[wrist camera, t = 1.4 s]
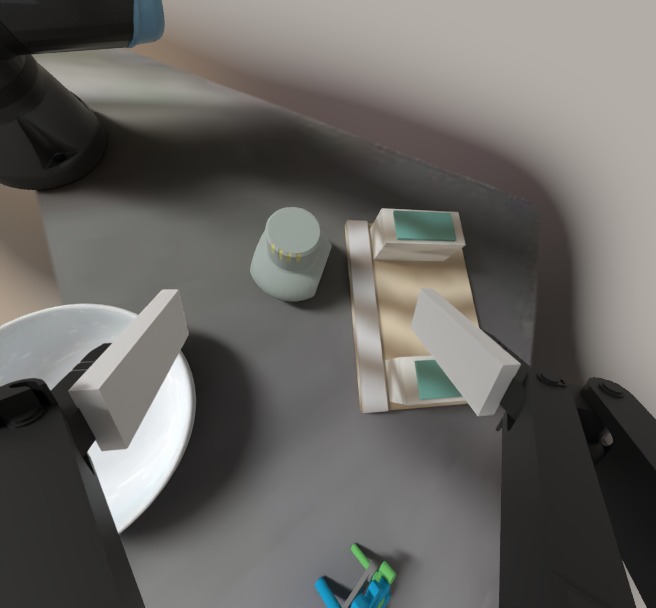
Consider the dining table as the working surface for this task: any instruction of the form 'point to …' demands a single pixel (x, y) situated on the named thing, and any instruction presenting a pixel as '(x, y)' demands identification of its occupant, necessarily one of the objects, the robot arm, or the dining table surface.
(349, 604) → the gear
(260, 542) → the dining table surface
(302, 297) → the air freshener
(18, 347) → the serving bowl
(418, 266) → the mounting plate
